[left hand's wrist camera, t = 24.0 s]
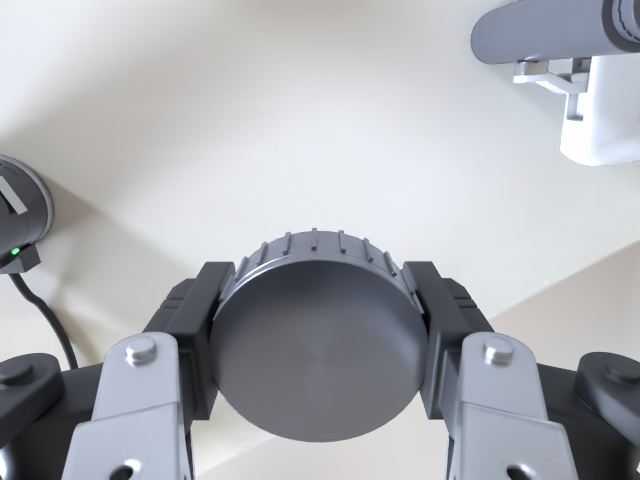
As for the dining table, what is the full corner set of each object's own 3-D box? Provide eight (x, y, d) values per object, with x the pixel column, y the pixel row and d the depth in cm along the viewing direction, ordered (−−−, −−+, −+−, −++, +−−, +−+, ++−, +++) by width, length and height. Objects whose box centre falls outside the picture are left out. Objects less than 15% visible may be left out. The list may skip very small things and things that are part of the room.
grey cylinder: (494, 74, 37) (661, 72, 19) (460, 42, 36) (600, 8, 18) (530, 32, 36) (745, -14, 18) (495, -2, 35) (685, -88, 17)
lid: (190, 258, 10) (165, 292, 8) (391, 200, 9) (406, 225, 8) (259, 412, 12) (250, 463, 10) (433, 371, 11) (452, 419, 10)
